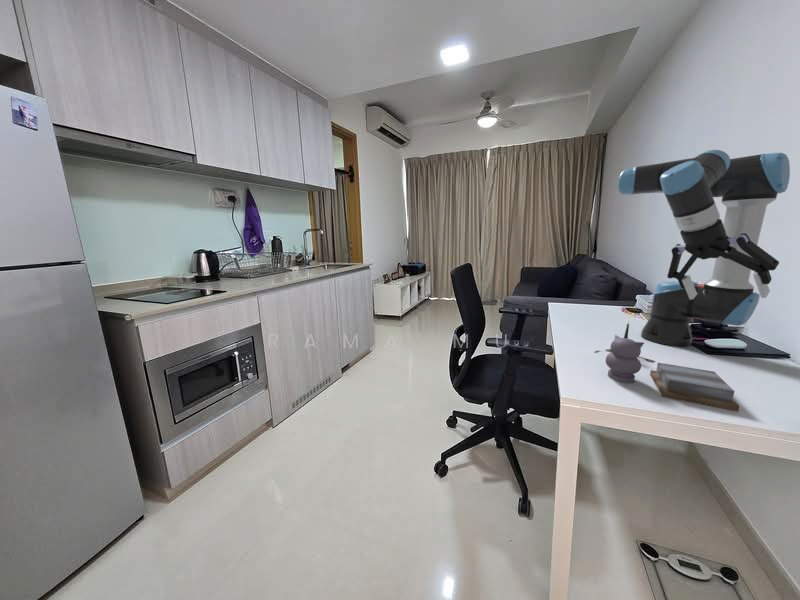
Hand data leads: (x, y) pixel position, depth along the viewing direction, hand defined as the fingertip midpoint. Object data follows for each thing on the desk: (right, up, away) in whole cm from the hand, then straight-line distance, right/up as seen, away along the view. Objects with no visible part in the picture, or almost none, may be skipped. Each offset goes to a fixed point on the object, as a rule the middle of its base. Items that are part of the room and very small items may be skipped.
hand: (726, 295), depth 79 cm
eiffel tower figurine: (-9, -21, +24) cm, 34 cm away
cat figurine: (-21, -24, +9) cm, 33 cm away
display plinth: (-8, -25, +2) cm, 27 cm away
